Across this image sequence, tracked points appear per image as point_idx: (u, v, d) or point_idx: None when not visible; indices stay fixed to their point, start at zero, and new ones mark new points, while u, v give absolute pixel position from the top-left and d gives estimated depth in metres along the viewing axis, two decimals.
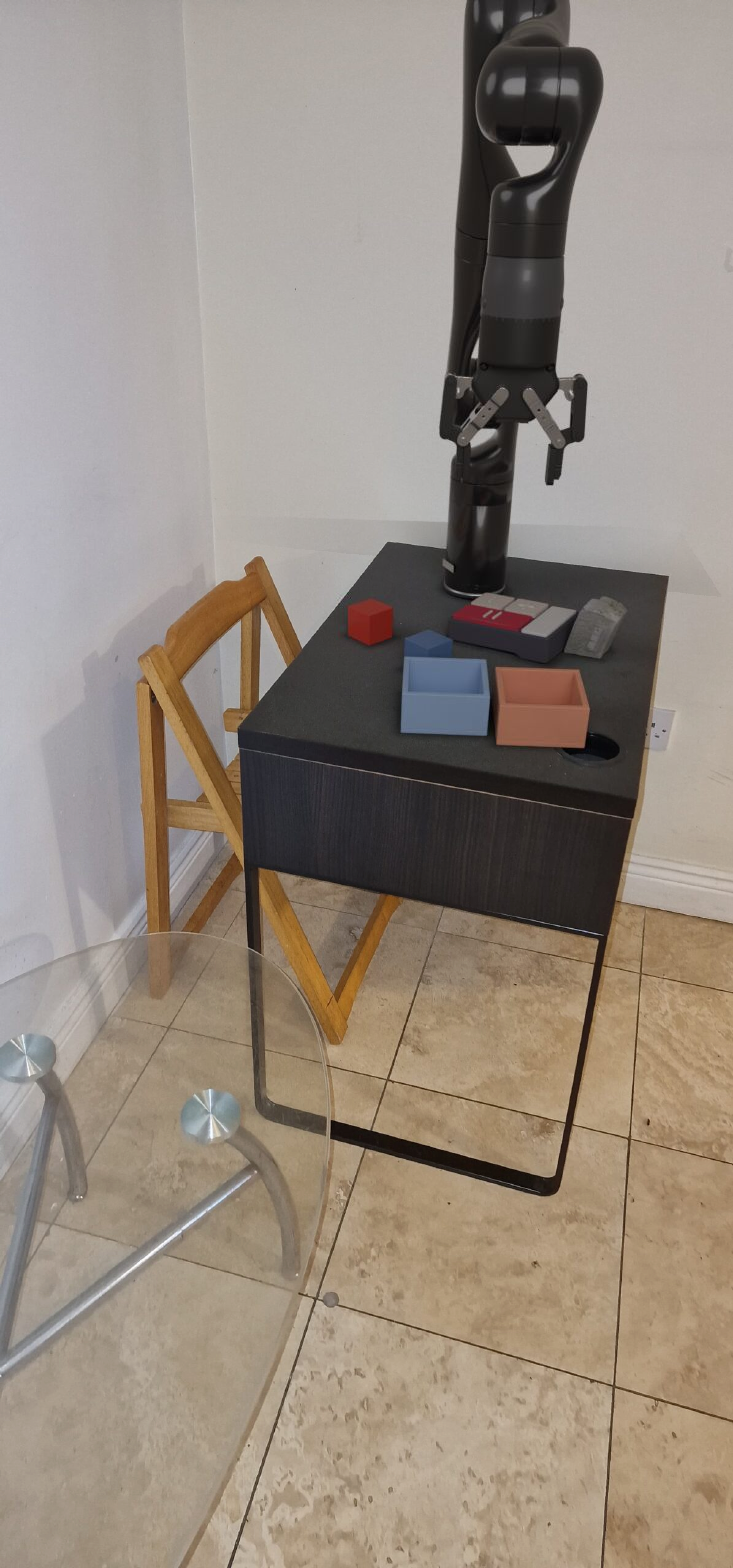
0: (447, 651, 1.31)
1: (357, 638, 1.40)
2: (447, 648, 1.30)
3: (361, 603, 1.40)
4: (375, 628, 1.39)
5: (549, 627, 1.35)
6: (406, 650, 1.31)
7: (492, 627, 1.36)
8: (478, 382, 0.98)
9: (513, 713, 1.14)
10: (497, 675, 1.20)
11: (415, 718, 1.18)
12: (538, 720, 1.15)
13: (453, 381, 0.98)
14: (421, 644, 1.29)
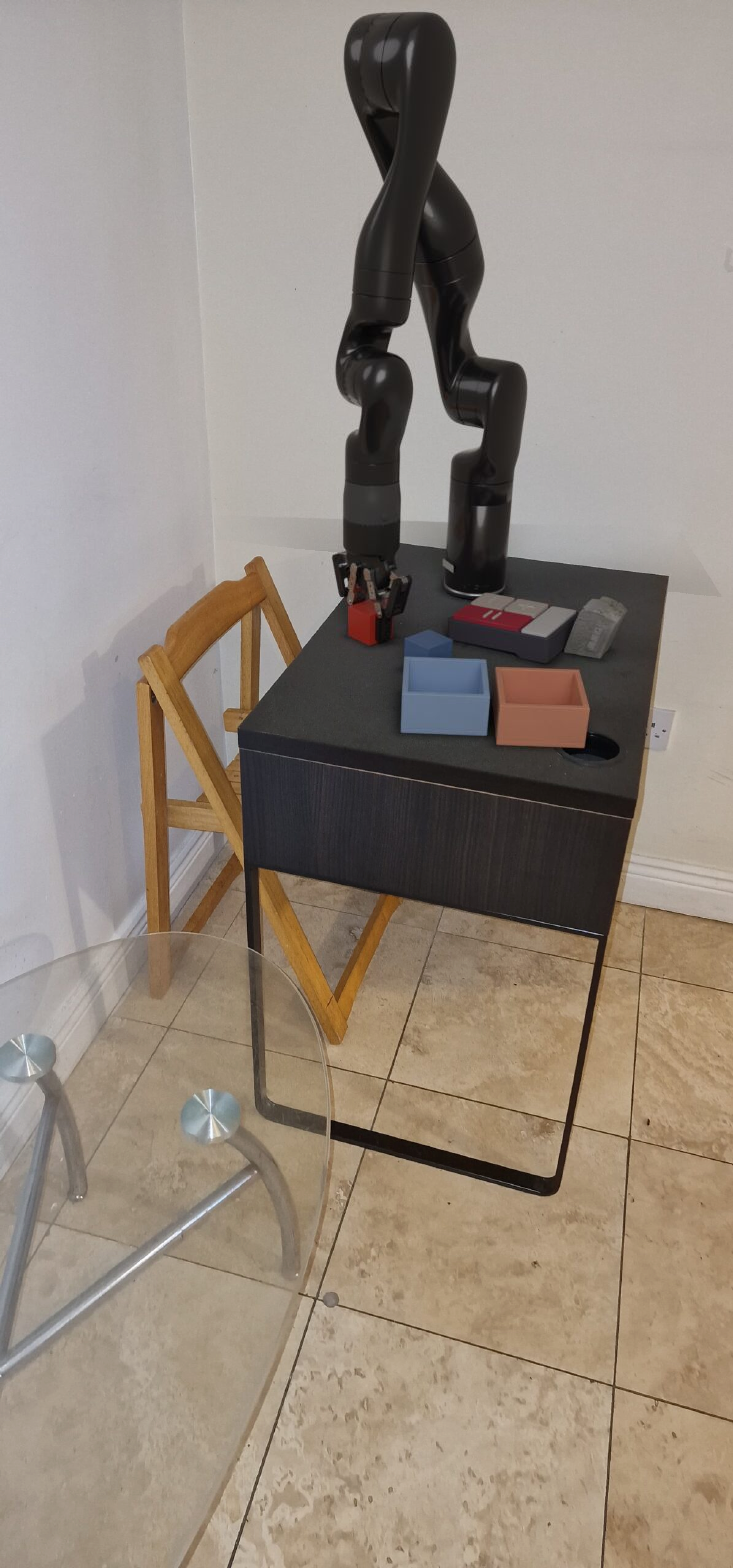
0: (447, 651, 1.31)
1: (357, 638, 1.40)
2: (447, 648, 1.30)
3: (361, 603, 1.40)
4: None
5: (549, 627, 1.35)
6: (406, 650, 1.31)
7: (492, 628, 1.36)
8: (347, 556, 1.38)
9: (513, 713, 1.14)
10: (497, 675, 1.20)
11: (415, 718, 1.18)
12: (538, 720, 1.15)
13: (335, 557, 1.39)
14: (421, 644, 1.29)
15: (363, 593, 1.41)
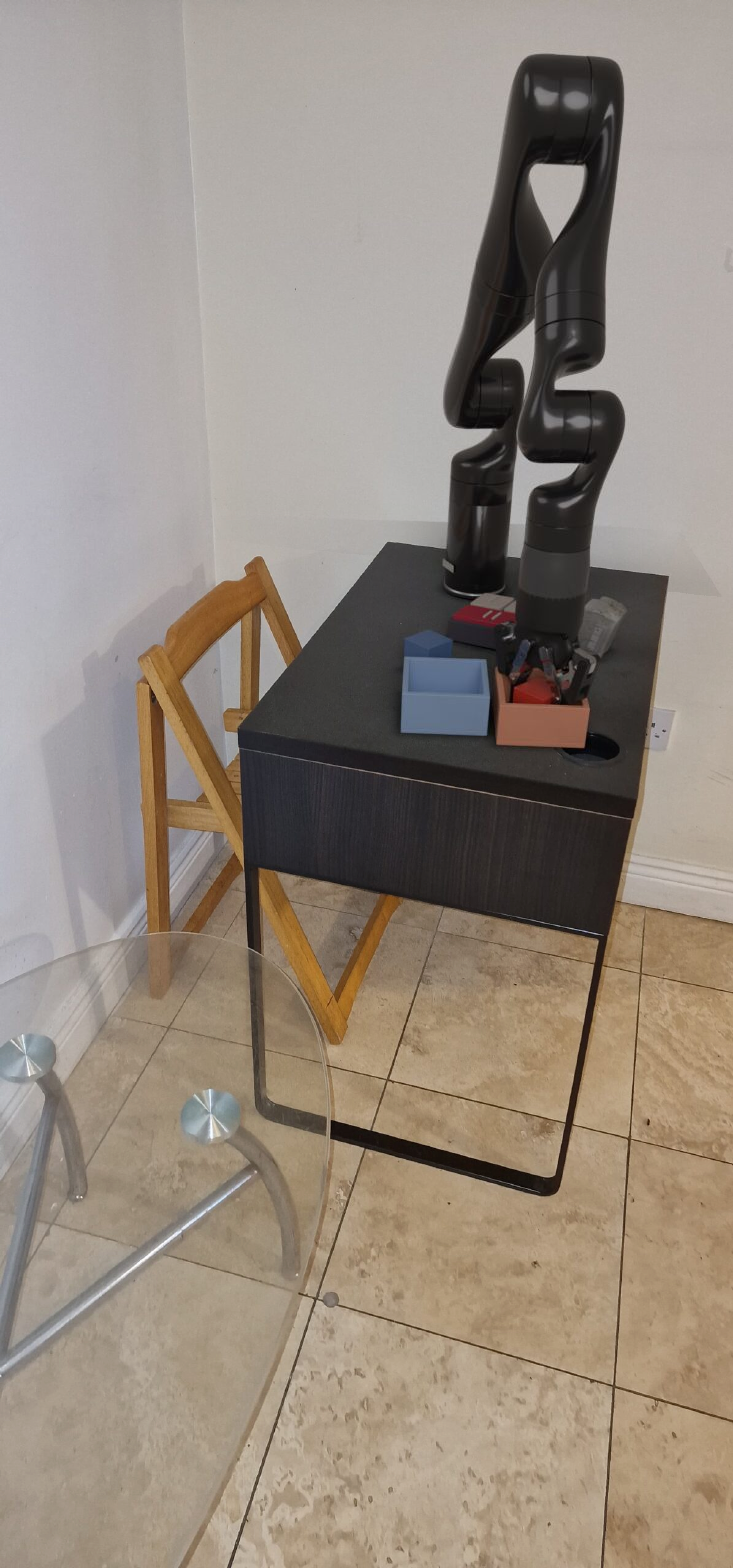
0: (447, 651, 1.31)
1: None
2: (447, 648, 1.30)
3: (528, 683, 1.19)
4: None
5: None
6: (406, 650, 1.31)
7: (492, 628, 1.36)
8: (515, 630, 1.16)
9: (513, 713, 1.14)
10: (497, 675, 1.20)
11: (415, 718, 1.18)
12: (538, 720, 1.15)
13: (498, 629, 1.18)
14: (421, 644, 1.29)
15: (528, 670, 1.19)
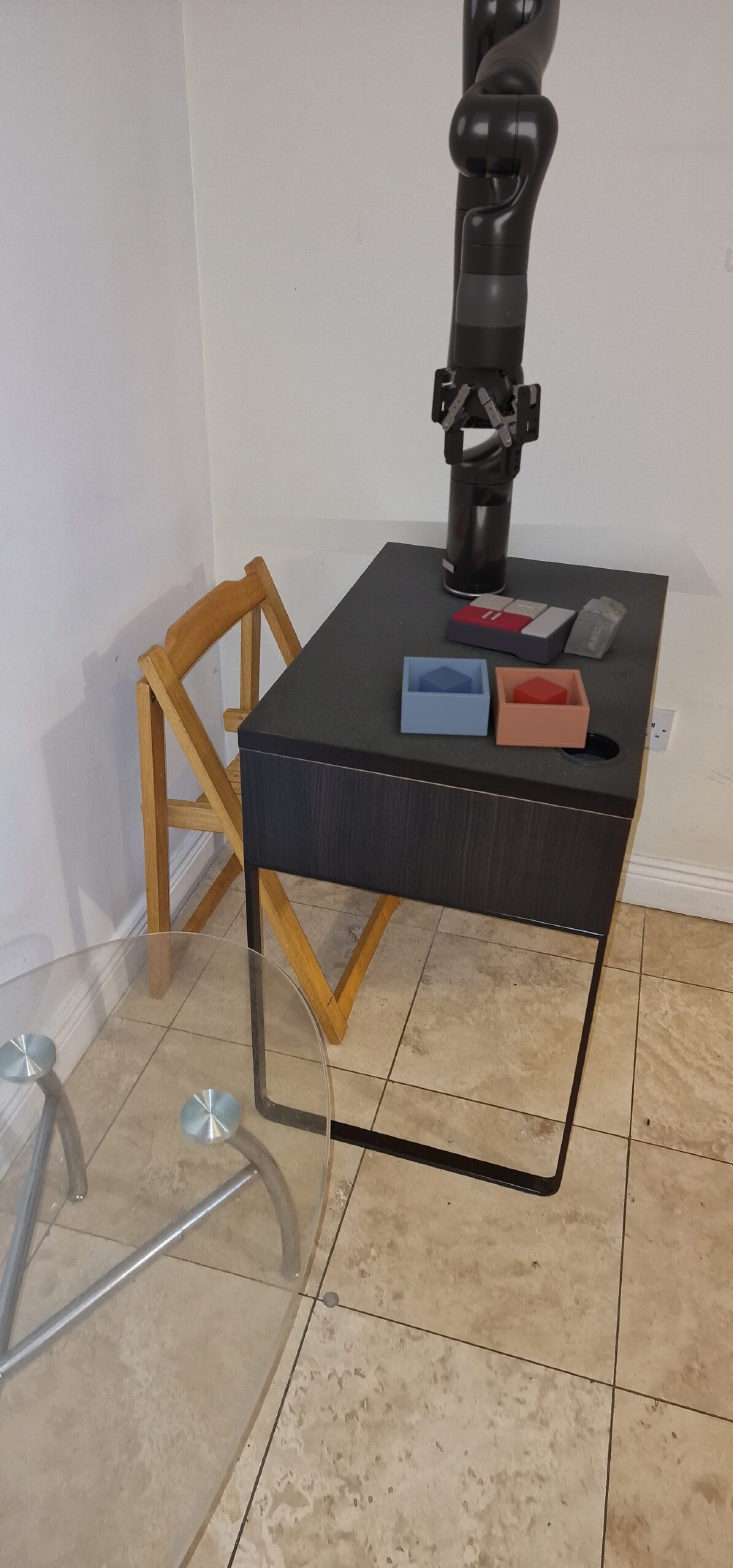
0: (466, 690, 1.20)
1: None
2: (466, 687, 1.20)
3: (528, 683, 1.19)
4: None
5: (549, 628, 1.35)
6: (421, 689, 1.21)
7: (492, 628, 1.36)
8: (456, 377, 1.14)
9: (513, 713, 1.14)
10: (497, 675, 1.20)
11: (415, 718, 1.18)
12: (538, 720, 1.15)
13: (439, 373, 1.16)
14: (437, 683, 1.18)
15: (463, 419, 1.18)
